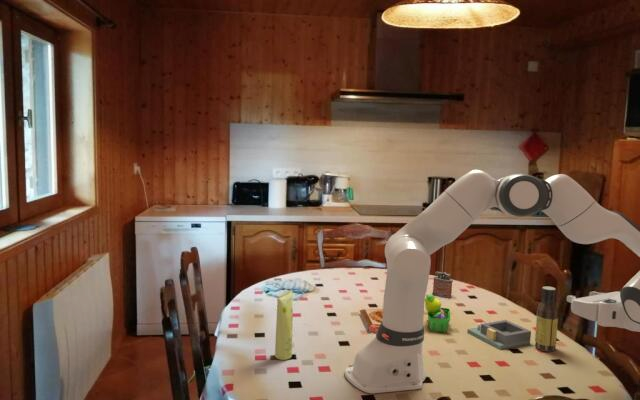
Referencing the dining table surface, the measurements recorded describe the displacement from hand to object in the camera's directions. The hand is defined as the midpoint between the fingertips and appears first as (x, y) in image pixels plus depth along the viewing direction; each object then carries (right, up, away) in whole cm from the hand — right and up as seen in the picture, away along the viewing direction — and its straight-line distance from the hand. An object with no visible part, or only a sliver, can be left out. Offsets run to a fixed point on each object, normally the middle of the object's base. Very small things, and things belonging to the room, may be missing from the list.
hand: (579, 295), depth 156 cm
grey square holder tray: (-17, -18, +22) cm, 33 cm away
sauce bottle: (-4, -20, +15) cm, 25 cm away
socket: (-15, -17, +20) cm, 30 cm away
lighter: (-25, -12, +65) cm, 71 cm away
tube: (-87, -18, +1) cm, 88 cm away
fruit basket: (-35, -16, +30) cm, 49 cm away
